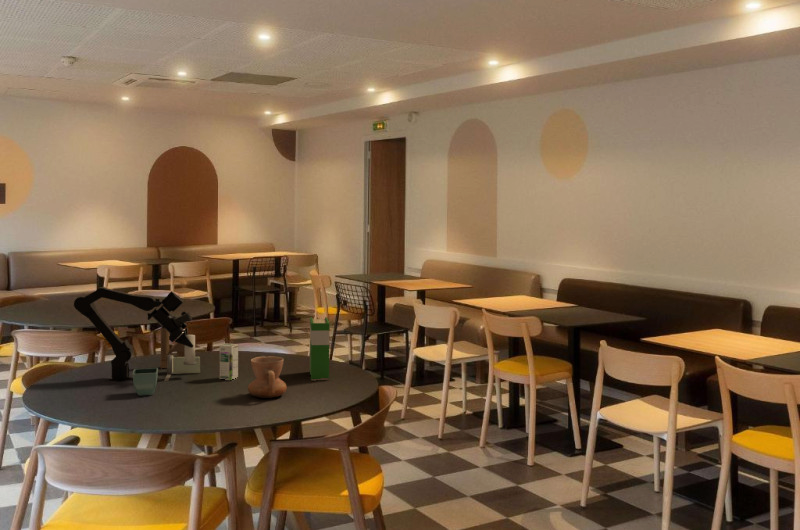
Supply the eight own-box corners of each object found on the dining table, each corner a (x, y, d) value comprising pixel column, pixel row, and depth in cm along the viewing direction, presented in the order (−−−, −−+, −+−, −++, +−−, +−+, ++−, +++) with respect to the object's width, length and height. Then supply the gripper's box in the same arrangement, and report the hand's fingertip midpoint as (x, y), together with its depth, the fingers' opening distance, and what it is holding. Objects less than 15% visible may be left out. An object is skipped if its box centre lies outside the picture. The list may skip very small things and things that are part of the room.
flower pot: (132, 397, 278) (132, 373, 277) (134, 391, 286) (133, 368, 286) (157, 396, 280) (157, 372, 279) (158, 390, 289) (158, 367, 288)
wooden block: (186, 367, 331) (185, 327, 330) (160, 369, 327) (160, 328, 326) (185, 365, 335) (185, 326, 333) (160, 367, 331) (159, 327, 330)
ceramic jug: (245, 391, 289) (245, 355, 288) (283, 389, 293) (283, 353, 292) (250, 403, 272) (250, 364, 271) (290, 401, 276) (290, 363, 275)
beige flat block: (172, 373, 317) (172, 357, 317) (173, 372, 320) (173, 356, 319) (199, 372, 319) (199, 357, 319) (200, 371, 322) (200, 356, 321)
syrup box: (219, 379, 309) (219, 345, 308) (226, 376, 314) (226, 342, 313) (231, 380, 307) (231, 346, 306) (238, 377, 313) (238, 343, 312)
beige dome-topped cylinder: (193, 365, 309) (193, 336, 308) (181, 364, 309) (181, 336, 308) (197, 363, 314) (198, 334, 313) (186, 362, 314) (186, 334, 313)
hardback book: (309, 371, 326) (310, 317, 325) (326, 371, 328) (327, 317, 326) (311, 381, 309) (311, 323, 307) (329, 380, 310) (329, 323, 308)
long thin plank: (168, 371, 323) (168, 353, 322) (173, 371, 323) (173, 353, 322) (163, 381, 305) (163, 361, 304) (168, 380, 305) (168, 361, 305)
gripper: (177, 308, 300) (205, 336, 303) (182, 303, 318) (208, 328, 321) (157, 328, 299) (185, 355, 302) (163, 321, 317) (189, 347, 320)
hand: (193, 345), depth 311 cm, fingers closed on beige dome-topped cylinder, 4 cm apart
